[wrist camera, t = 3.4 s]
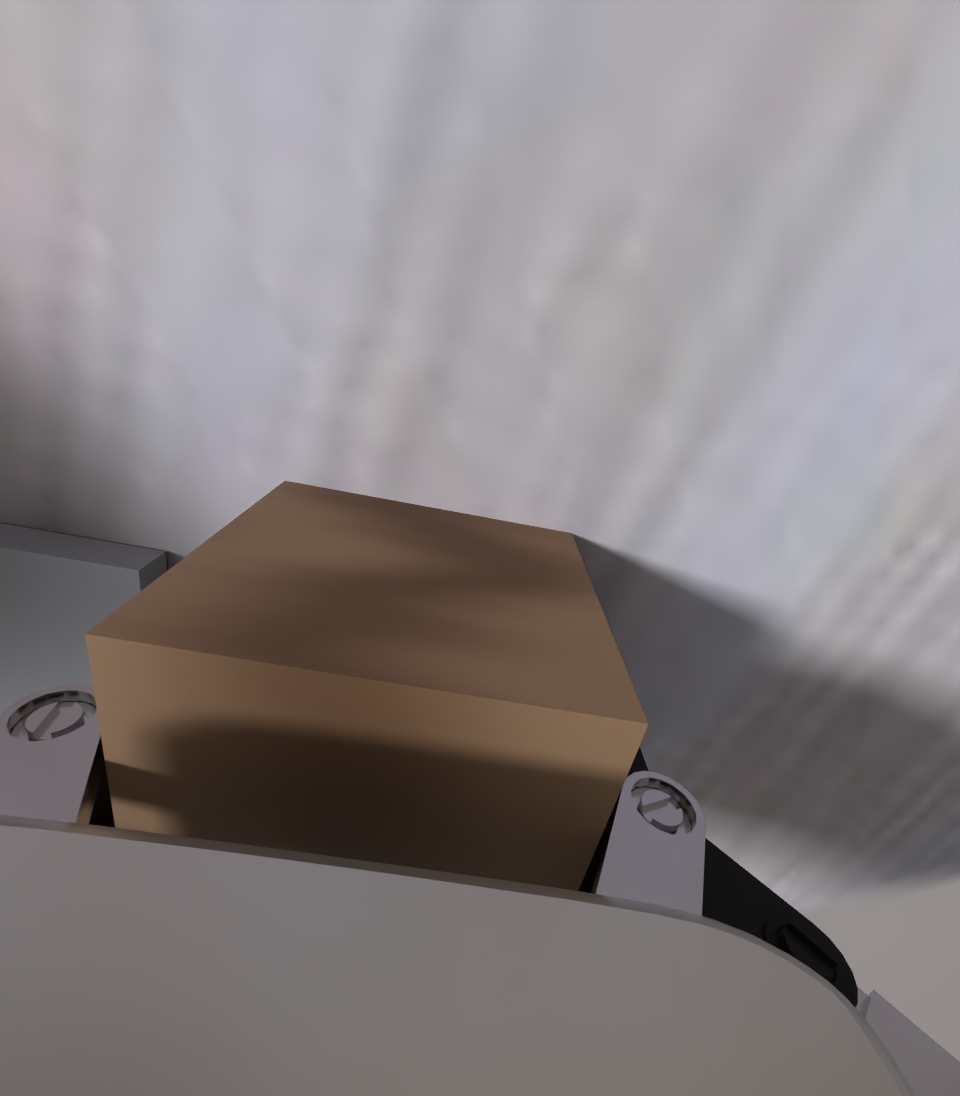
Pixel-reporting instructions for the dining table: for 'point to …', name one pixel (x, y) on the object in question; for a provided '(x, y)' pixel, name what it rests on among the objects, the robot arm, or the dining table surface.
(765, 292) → the dining table surface
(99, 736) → the robot arm
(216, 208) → the dining table surface
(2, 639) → the plate
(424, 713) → the walnut cube
